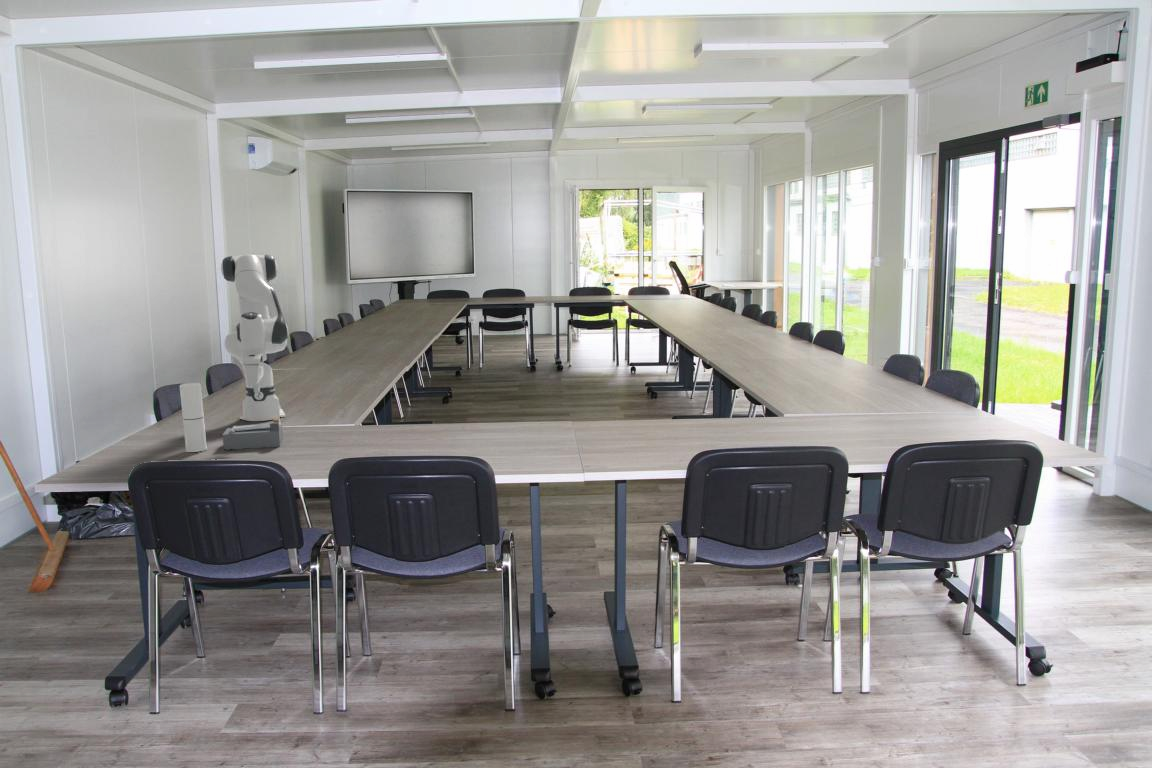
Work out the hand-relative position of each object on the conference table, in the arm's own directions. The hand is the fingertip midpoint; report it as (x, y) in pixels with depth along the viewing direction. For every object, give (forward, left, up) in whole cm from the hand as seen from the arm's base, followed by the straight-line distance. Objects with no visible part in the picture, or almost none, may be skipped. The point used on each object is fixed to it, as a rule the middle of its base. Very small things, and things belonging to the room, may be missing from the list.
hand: (256, 391), depth 329 cm
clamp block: (+2, -2, -20) cm, 20 cm away
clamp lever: (+2, -1, -13) cm, 14 cm away
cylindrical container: (+5, -22, -20) cm, 31 cm away
